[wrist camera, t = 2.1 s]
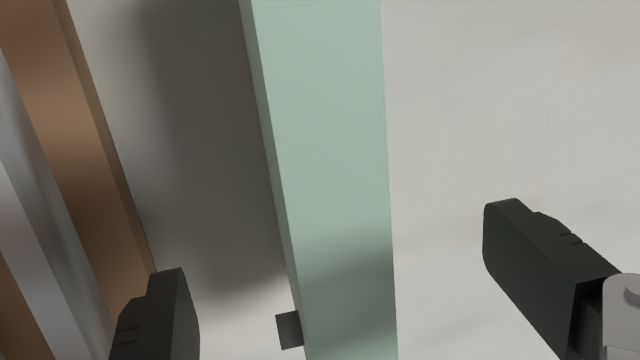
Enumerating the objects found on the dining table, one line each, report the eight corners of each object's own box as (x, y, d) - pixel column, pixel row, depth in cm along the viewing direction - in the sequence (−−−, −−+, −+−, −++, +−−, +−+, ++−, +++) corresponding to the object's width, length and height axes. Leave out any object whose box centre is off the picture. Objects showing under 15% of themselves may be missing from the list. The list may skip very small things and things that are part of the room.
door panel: (204, -54, 17) (199, -29, 9) (295, -66, 18) (376, -53, 9) (268, 266, 24) (301, 462, 15) (333, 252, 24) (402, 436, 16)
